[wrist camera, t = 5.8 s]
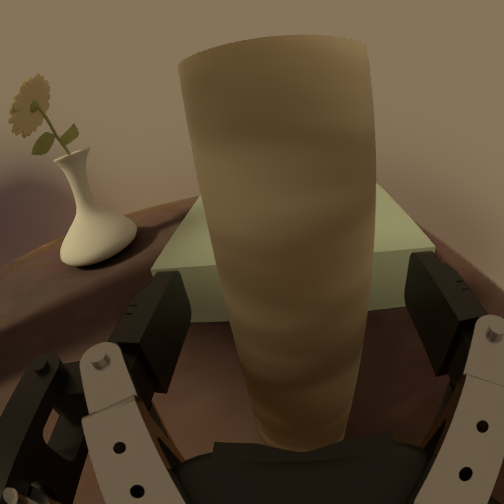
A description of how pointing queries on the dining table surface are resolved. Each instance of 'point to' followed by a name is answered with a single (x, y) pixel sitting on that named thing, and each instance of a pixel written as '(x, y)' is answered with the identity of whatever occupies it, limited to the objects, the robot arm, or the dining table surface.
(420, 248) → the hole block
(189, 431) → the dining table surface
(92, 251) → the flower in vase
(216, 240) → the peg
